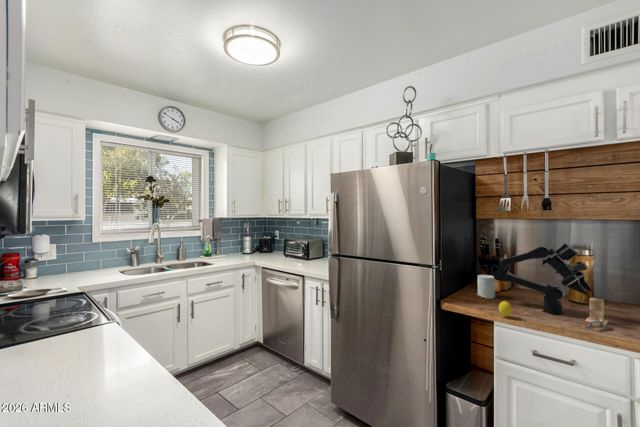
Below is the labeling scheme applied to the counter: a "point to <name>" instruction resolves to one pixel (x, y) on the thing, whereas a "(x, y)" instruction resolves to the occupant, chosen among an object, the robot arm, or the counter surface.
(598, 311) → the oak block
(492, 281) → the white cylinder
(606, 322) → the pad
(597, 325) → the wire stand
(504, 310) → the lemon
